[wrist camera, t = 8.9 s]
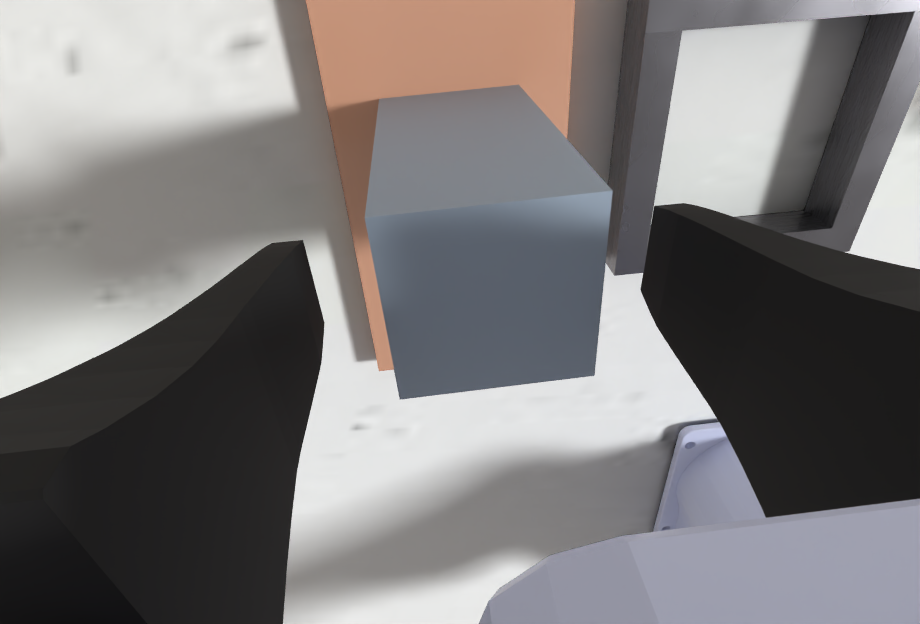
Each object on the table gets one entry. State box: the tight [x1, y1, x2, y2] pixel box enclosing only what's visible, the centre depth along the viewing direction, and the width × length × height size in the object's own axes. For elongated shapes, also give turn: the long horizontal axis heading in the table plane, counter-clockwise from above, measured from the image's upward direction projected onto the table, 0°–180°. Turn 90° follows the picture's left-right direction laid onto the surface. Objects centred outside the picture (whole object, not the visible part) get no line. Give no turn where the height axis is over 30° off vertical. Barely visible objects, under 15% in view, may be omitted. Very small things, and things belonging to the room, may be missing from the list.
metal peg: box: [365, 85, 613, 399], centre depth 13 cm, size 4×4×8 cm
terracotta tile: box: [306, 0, 575, 371], centre depth 16 cm, size 16×7×1 cm, turn 3°
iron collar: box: [606, 0, 920, 276], centre depth 17 cm, size 8×8×2 cm
